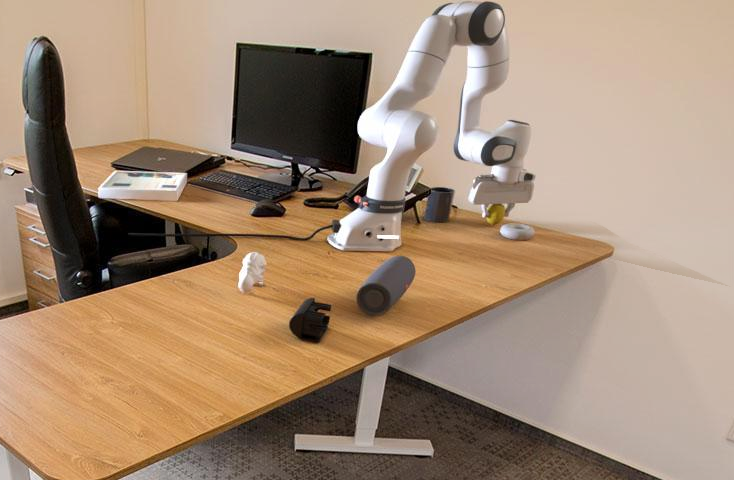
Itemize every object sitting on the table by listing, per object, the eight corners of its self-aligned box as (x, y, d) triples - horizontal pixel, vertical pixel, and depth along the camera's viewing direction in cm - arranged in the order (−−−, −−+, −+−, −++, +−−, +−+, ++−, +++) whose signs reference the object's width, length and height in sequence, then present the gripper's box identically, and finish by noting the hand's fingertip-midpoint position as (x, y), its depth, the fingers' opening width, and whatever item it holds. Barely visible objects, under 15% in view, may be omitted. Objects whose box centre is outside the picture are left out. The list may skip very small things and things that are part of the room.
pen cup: (430, 223, 233) (436, 193, 227) (419, 216, 239) (425, 187, 234) (452, 222, 233) (459, 192, 228) (441, 215, 240) (447, 186, 235)
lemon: (500, 224, 231) (506, 200, 227) (502, 229, 226) (508, 204, 222) (483, 223, 232) (488, 199, 228) (484, 227, 228) (490, 203, 224)
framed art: (187, 172, 283) (177, 190, 257) (186, 182, 285) (177, 201, 259) (115, 170, 287) (98, 188, 261) (115, 179, 289) (98, 198, 263)
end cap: (299, 322, 163) (302, 295, 159) (328, 327, 160) (332, 300, 157) (287, 338, 155) (290, 310, 152) (318, 344, 153) (321, 316, 149)
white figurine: (268, 251, 181) (256, 269, 172) (266, 280, 186) (255, 300, 177) (245, 248, 183) (232, 266, 174) (244, 277, 188) (231, 296, 179)
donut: (538, 242, 214) (526, 232, 223) (541, 231, 213) (529, 221, 221) (504, 241, 215) (494, 231, 224) (507, 230, 213) (497, 221, 222)
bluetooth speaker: (389, 324, 161) (397, 284, 156) (351, 316, 166) (357, 277, 160) (414, 293, 178) (421, 256, 173) (378, 287, 182) (384, 250, 177)
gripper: (480, 177, 217) (470, 220, 224) (540, 175, 219) (529, 218, 226) (470, 172, 222) (460, 215, 229) (529, 170, 224) (518, 213, 231)
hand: (495, 216), depth 228 cm, fingers closed on lemon, 5 cm apart
